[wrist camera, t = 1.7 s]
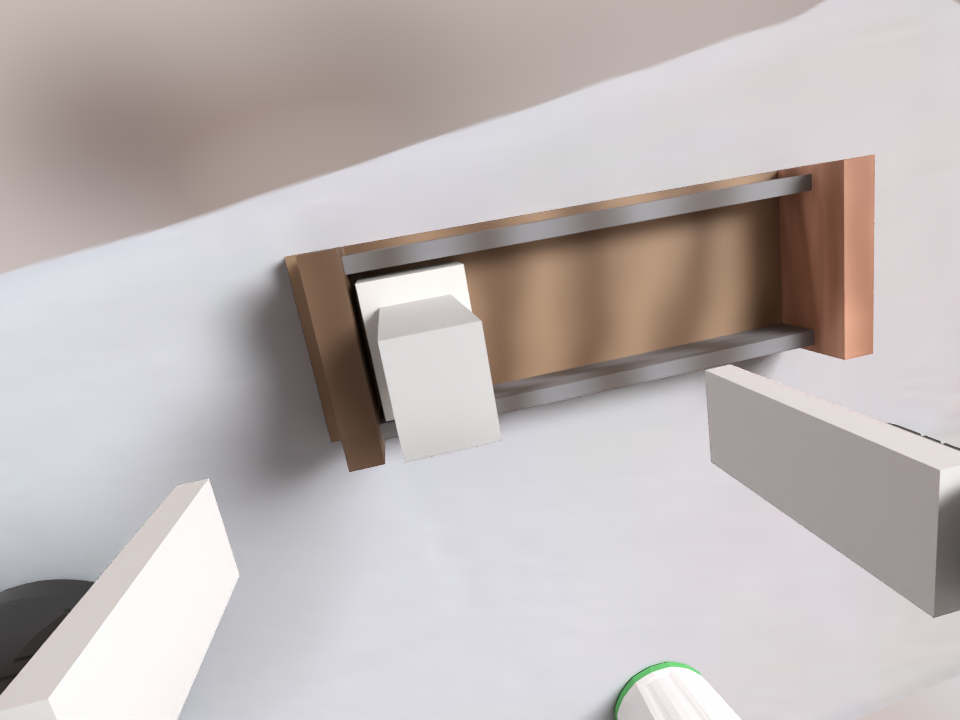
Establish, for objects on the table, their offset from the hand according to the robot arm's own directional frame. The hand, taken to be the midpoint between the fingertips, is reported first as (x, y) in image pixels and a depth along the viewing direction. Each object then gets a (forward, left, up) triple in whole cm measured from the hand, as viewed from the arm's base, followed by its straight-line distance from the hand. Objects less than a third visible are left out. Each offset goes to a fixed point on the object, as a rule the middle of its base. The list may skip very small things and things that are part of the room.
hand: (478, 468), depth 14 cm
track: (+11, 0, -23) cm, 26 cm away
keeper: (0, 0, -21) cm, 21 cm away
